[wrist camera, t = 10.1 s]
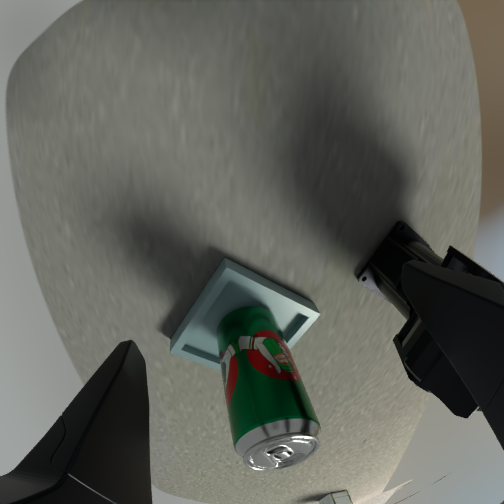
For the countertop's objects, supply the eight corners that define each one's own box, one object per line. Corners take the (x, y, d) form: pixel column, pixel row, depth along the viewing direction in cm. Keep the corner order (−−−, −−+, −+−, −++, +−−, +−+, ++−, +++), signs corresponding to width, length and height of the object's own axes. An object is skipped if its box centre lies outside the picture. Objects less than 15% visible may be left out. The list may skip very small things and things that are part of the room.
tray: (314, 303, 26) (320, 314, 24) (255, 370, 28) (258, 382, 27) (224, 257, 22) (226, 267, 21) (170, 339, 25) (169, 352, 23)
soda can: (235, 358, 26) (262, 479, 15) (203, 321, 24) (218, 457, 13) (286, 331, 25) (336, 449, 15) (259, 290, 23) (308, 421, 12)
